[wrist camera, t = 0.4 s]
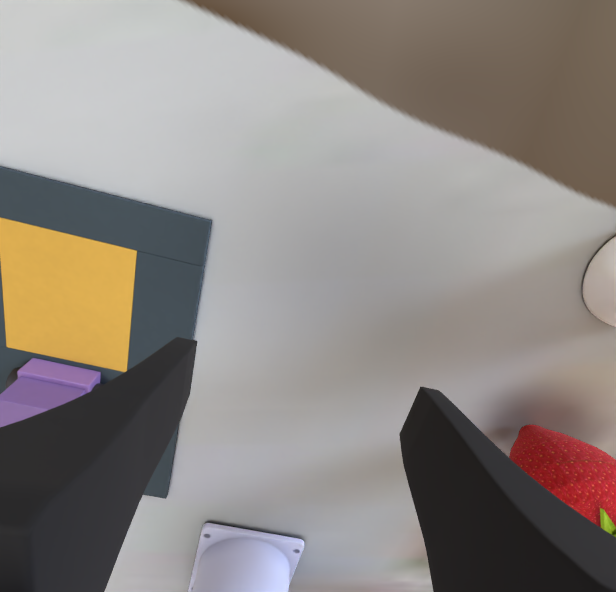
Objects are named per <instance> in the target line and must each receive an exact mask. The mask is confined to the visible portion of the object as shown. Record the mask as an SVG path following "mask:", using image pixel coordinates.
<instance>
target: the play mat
mask: <svg viewBox="0 0 616 592" xmlns="http://www.w3.org/2000/svg"><path fill="white" fill-rule="evenodd" d="M211 223H212V221H211V220H208V219H204V218H200V217H196V216H193V215H189V214H185V213H181V212H177V211H173V210H169V209H165V208H161V207H157V206H153V205H150V204H146V203H142V202H138V201H134V200H130V199H126V198H122V197H118V196H114V195H110V194H107V193H103V192H99V191H95V190H91V189H87V188H83V187H79V186H75V185H71V184H67V183H64V182H60V181H56V180H52V179H48V178H44V177H40V176H36V175H32V174H28V173H24V172H20V171H17V170H13V169H9V168H5V167H1V166H0V394H1V393H2V392H4V391H5V390H6V387H5V385H6V380H7V378H8V376H9V374H10V373H11V371H12V370H13V369H15V368H16V367H23V366H24V365H25V364H26V363H27V362H29V361H30V360H31V359H32V358H37V359H41V360H46V361H51V362H56V363H60V364H65V365H70V366H75V367H79V368H84V369H89V370H94V371H98V372H101V375H100V383H101V384H105V383H107V382H109V381H111V380H112V379H114V378H116V377H117V376H119V375H121V374H123V373H124V372H126V371H128V370H129V369H131V368H132V367H134V366H135V365H137V364H138V363H140V362H141V361H143V360H144V359H146V358H147V357H149V356H150V355H152V354H153V353H155V352H156V351H158V350H159V349H160V348H162V347H163V346H165V345H166V344H167V343H169V342H170V341H172V340H173V339H175V338H176V337H180V338H185V339H190V340H193V335H194V328H195V322H196V316H197V310H198V304H199V297H200V291H201V285H202V279H203V273H204V267H205V265H204V264H205V260H206V254H207V248H208V242H209V236H210V229H211ZM178 427H179V424H178V426H177V428H176V430H175V432H174V434H173V436H172V438H171V440H170V442H169V444H168V446H167V448H166V450H165V452H164V454H163V456H162V458H161V460H160V461H159V463H158V465H157V467H156V469H155V471H154V473H153V475H152V477H151V479H150V481H149V483H148V485H147V487H146V489H145V491H144V493H143V495H149V496H154V497H160V498H166V497H167V495H168V489H169V483H170V477H171V471H172V464H173V458H174V452H175V446H176V440H177V433H178Z"/></svg>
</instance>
